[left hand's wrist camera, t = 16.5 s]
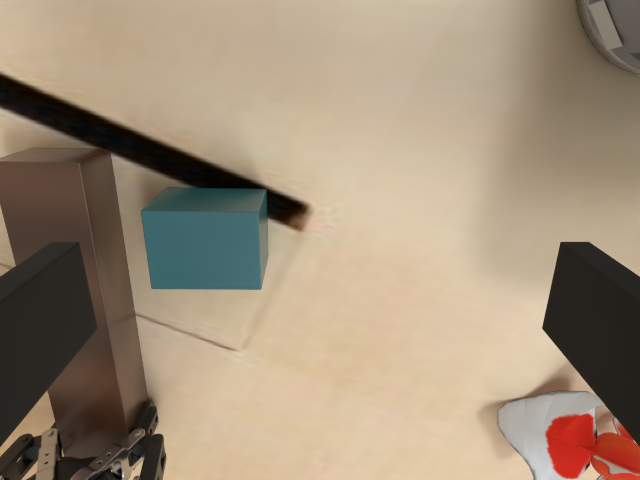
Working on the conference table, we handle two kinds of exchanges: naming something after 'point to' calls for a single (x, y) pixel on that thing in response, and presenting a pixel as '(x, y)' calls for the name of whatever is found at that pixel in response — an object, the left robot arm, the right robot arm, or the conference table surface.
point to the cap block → (207, 238)
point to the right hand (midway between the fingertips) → (115, 408)
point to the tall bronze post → (103, 279)
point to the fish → (567, 437)
